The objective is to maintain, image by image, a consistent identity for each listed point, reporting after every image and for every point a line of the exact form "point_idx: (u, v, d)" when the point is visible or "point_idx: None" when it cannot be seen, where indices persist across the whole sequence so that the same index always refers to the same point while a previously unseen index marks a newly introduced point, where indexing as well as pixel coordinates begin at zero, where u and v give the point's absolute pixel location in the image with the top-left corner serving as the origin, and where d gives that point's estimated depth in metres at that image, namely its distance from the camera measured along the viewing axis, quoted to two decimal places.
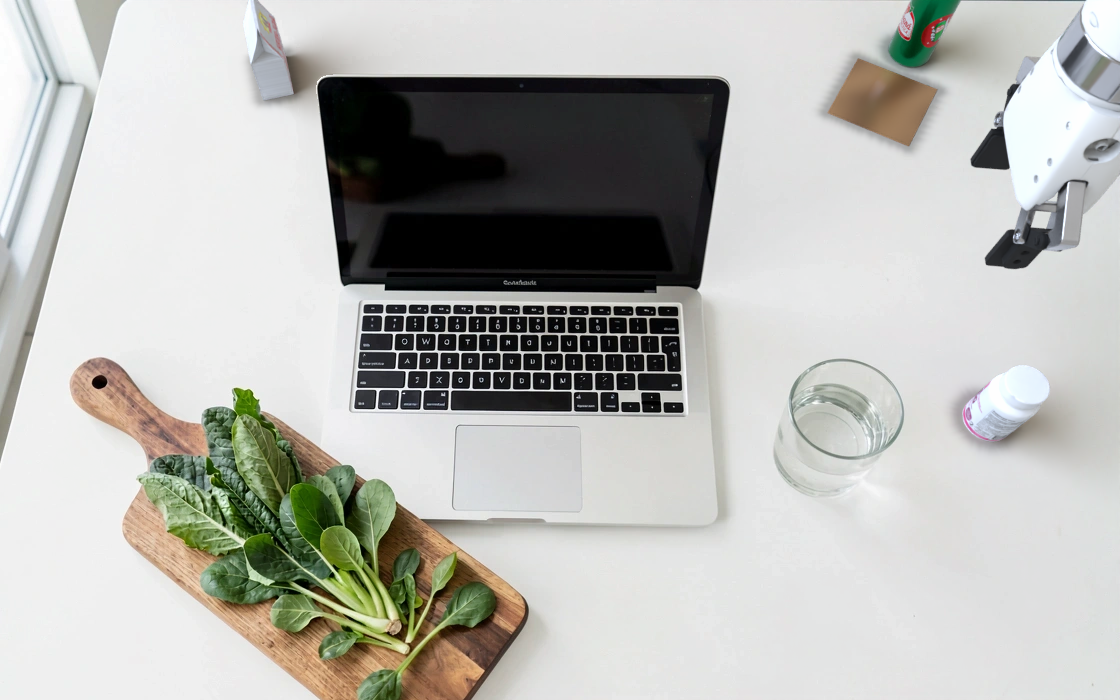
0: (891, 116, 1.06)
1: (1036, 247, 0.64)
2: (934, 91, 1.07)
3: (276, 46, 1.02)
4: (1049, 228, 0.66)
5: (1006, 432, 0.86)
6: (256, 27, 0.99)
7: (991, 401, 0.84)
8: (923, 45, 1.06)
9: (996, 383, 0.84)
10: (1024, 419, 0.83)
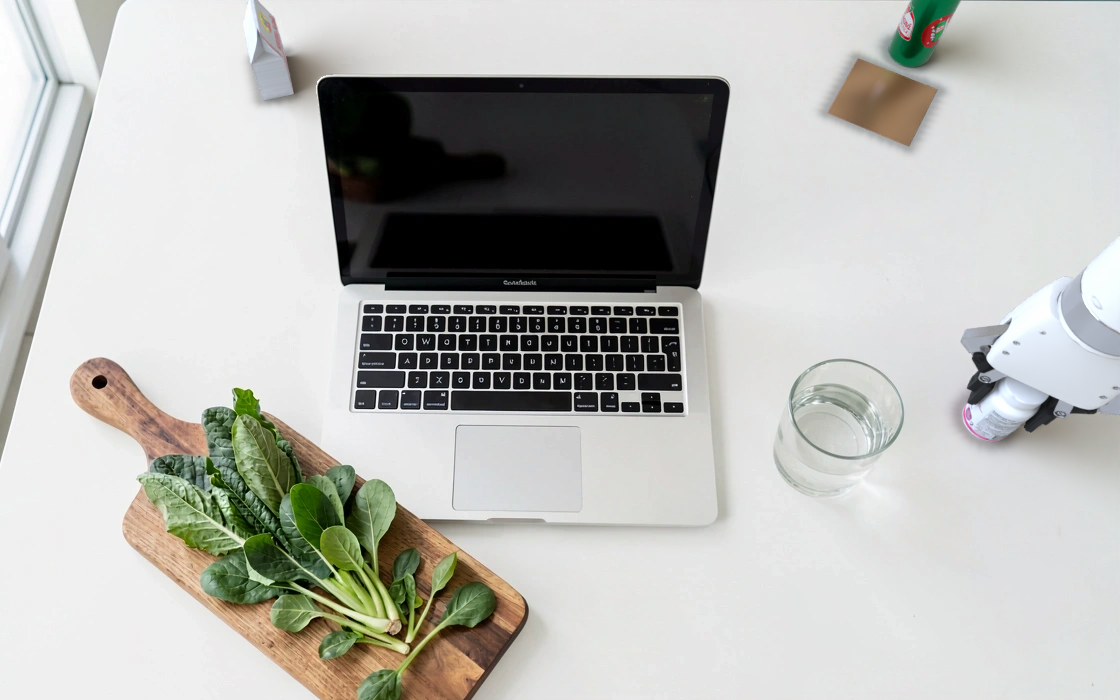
0: (891, 116, 1.06)
1: (1091, 413, 0.79)
2: (934, 91, 1.07)
3: (276, 46, 1.02)
4: None
5: (1006, 432, 0.86)
6: (256, 27, 0.99)
7: (992, 401, 0.84)
8: (923, 45, 1.06)
9: (996, 383, 0.84)
10: (1024, 419, 0.83)
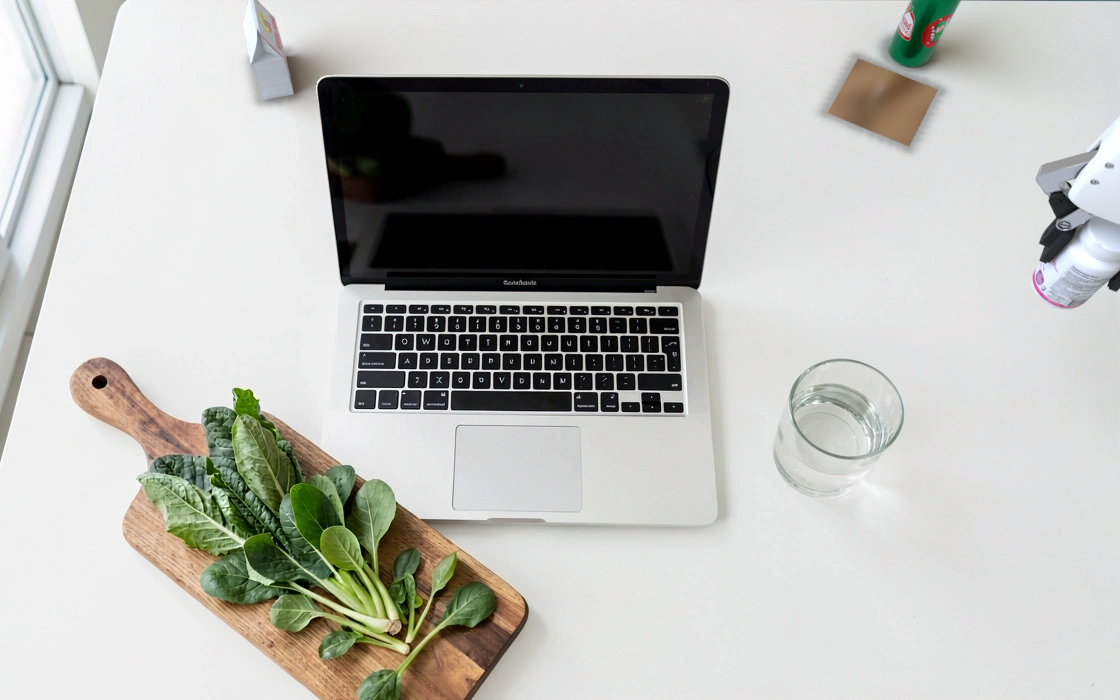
0: (891, 116, 1.06)
1: None
2: (934, 91, 1.07)
3: (276, 46, 1.02)
4: None
5: (1086, 294, 0.74)
6: (256, 27, 0.99)
7: (1070, 255, 0.71)
8: (923, 45, 1.06)
9: (1075, 233, 0.72)
10: (1110, 274, 0.71)
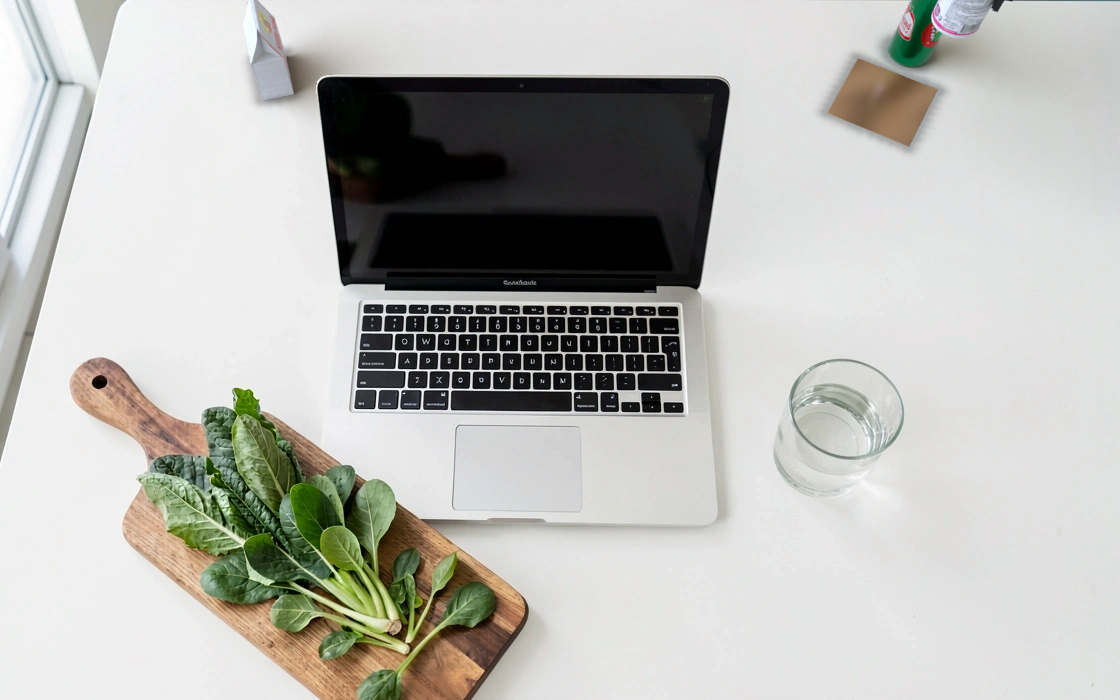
0: (891, 116, 1.06)
1: None
2: (934, 91, 1.07)
3: (276, 46, 1.02)
4: None
5: (974, 18, 0.87)
6: (256, 27, 0.99)
7: None
8: (923, 45, 1.06)
9: None
10: None
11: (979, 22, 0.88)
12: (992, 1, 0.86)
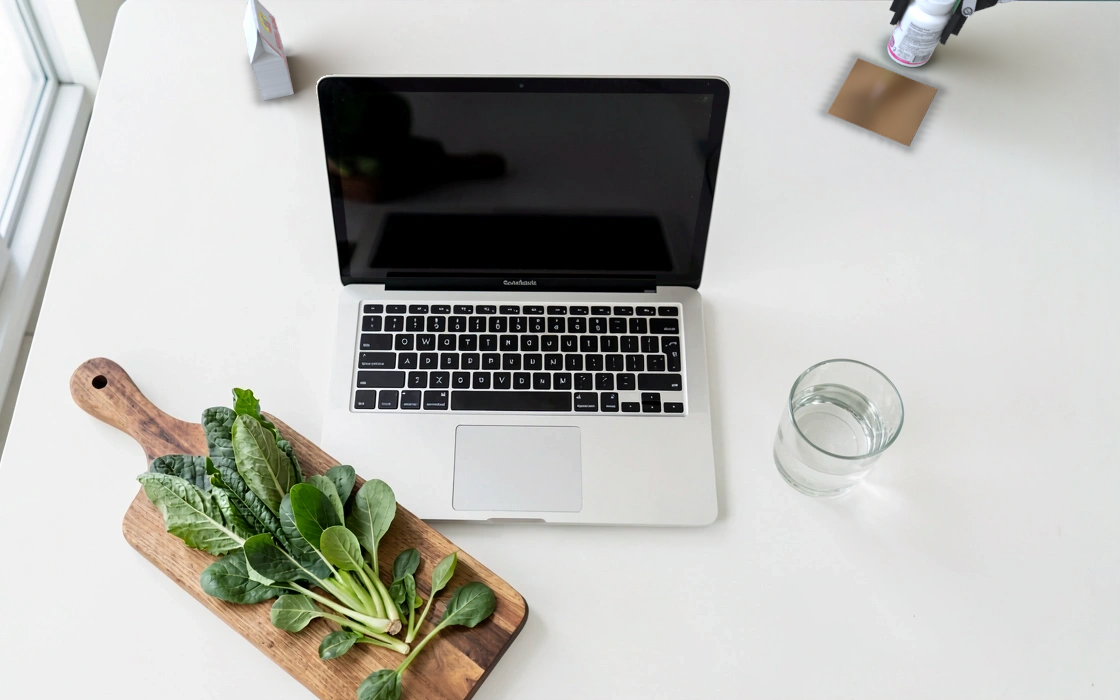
0: (891, 116, 1.06)
1: (993, 4, 0.90)
2: (934, 91, 1.07)
3: (276, 46, 1.02)
4: None
5: (924, 50, 0.97)
6: (256, 27, 0.99)
7: (909, 13, 0.94)
8: None
9: None
10: (938, 27, 0.94)
11: (929, 53, 0.97)
12: (940, 35, 0.95)
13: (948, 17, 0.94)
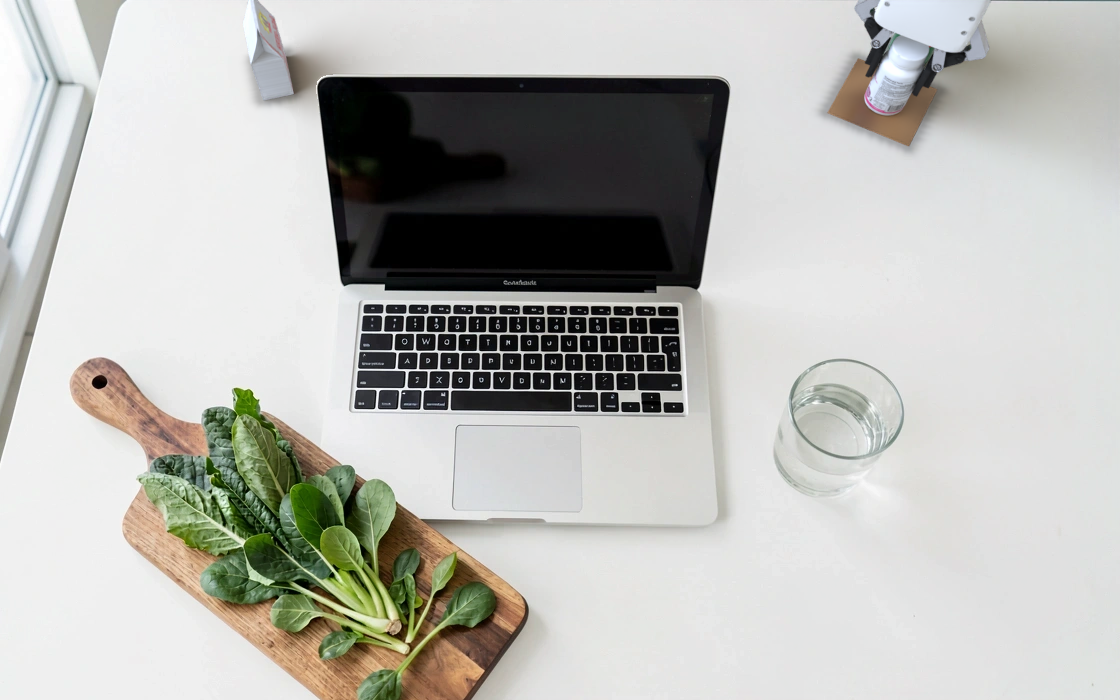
0: (891, 116, 1.06)
1: (960, 62, 0.97)
2: (934, 91, 1.07)
3: (276, 46, 1.02)
4: None
5: (898, 100, 1.03)
6: (256, 27, 0.99)
7: (883, 67, 1.01)
8: None
9: (887, 53, 1.01)
10: (910, 81, 1.01)
11: (903, 103, 1.04)
12: (912, 87, 1.02)
13: (919, 71, 1.00)
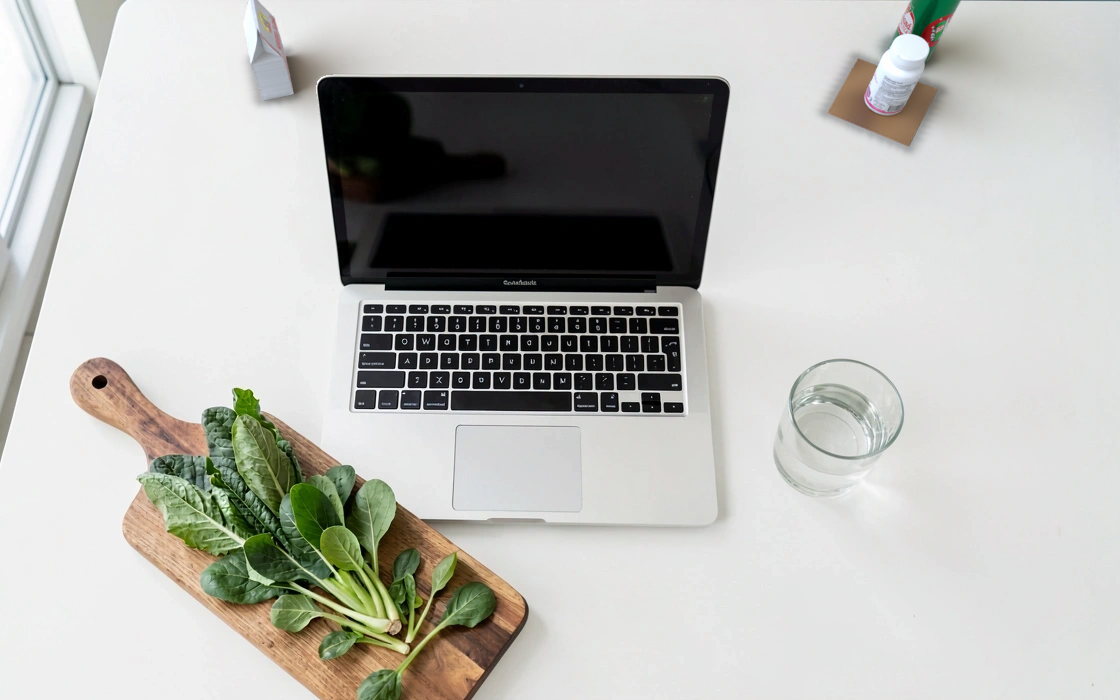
0: (891, 116, 1.06)
1: None
2: (934, 91, 1.07)
3: (276, 46, 1.02)
4: None
5: (898, 100, 1.03)
6: (256, 27, 0.99)
7: (883, 67, 1.01)
8: None
9: (887, 53, 1.01)
10: (910, 81, 1.01)
11: (903, 103, 1.04)
12: (912, 87, 1.02)
13: (919, 71, 1.00)
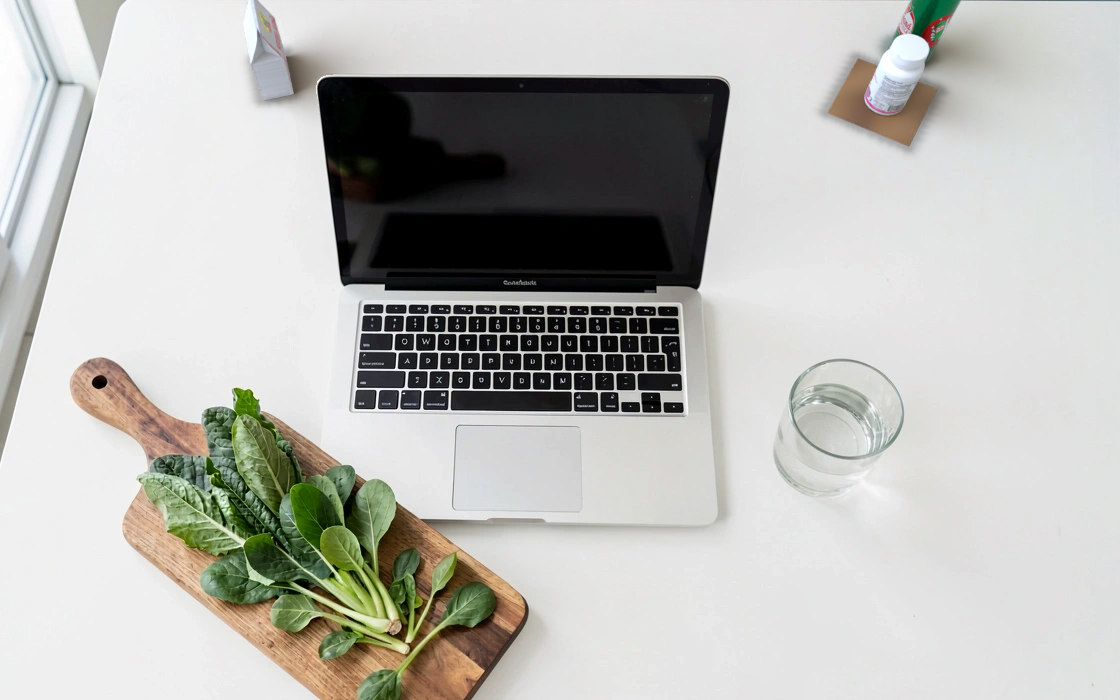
0: (891, 116, 1.06)
1: None
2: (934, 91, 1.07)
3: (276, 46, 1.02)
4: None
5: (898, 100, 1.03)
6: (256, 27, 0.99)
7: (883, 67, 1.01)
8: None
9: (887, 53, 1.01)
10: (910, 81, 1.01)
11: (903, 103, 1.04)
12: (912, 87, 1.02)
13: (919, 71, 1.00)
